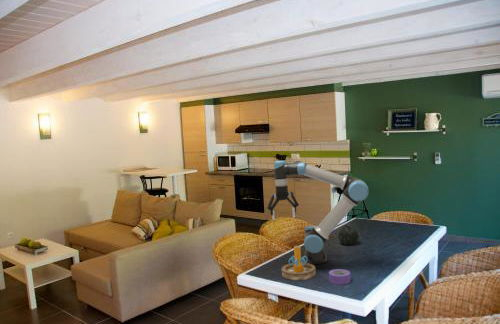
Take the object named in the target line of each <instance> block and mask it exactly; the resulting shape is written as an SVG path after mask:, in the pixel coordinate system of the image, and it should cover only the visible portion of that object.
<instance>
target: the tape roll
mask: <svg viewBox="0 0 500 324" xmlns="http://www.w3.org/2000/svg"><path fill="white" fill-rule="evenodd" d="M328 281H329V283H330V284H333V285H338V286H341V285H342V286H343V285H347V284H348V285H349V284H350V283H351V272H350V271H349V270H348V269H341V268H339V269H338V268H336V269H332V270H330V271H329V272H328Z"/></svg>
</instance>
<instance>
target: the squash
mask: <svg viewBox="0 0 500 324" xmlns="http://www.w3.org/2000/svg"><path fill="white" fill-rule="evenodd" d="M337 236H338V240H339V243H341V244H342V245H346V246H349V245H350V246H352V245H355V244H357V242H358V240H359V237H360V236H359V233H358V231H357V230H356V229H355V228H354V227H352V226H350V225H347V224H345V225H343V226H342V227H341V229H339V232H338V235H337Z"/></svg>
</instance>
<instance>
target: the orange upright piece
mask: <svg viewBox="0 0 500 324" xmlns="http://www.w3.org/2000/svg"><path fill="white" fill-rule="evenodd" d="M293 254H294V255H292V256H290V258H289V259H288V264H290V265H293V267H294V272H297V273H300V272H303V271H304V267H303V265H305V264H306V262H307V261H308V258H307V257H306V256H304V255H303V256H302V249H301V245H295V246H293ZM304 257H305V258H306V261H305V260H304ZM291 263H293V264H291ZM303 263H304V264H303Z"/></svg>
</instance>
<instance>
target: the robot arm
mask: <svg viewBox="0 0 500 324" xmlns="http://www.w3.org/2000/svg"><path fill="white" fill-rule="evenodd" d="M273 171H274V182H275V184H274V185H275V193H271V195H270V199H269V202H268V205H267V207H266V209H267V210H268V211H270V212H269V213H270V216H271V219H272V221H276V219H275V218H276V216H275V210H274V209H275V207H276V206H277V204H278V203H279V202H280V201H286V200H287V202H288V203H289V204H290V205H291V206H292V207H291V211H292V213H291V214H292V218H293V219H295V218H296V212H297V207H299V203H298V201H297V199H296V197H295V196H294V192H292V191H289V188H288V177H289V176H302V175H303V176H305V177H309V178H311V179H314V180H317V181H320V182H323V183H326V184H327V185H332V186H334V187H338V188H340V189H341V191H343V192H342V194H341V195H342V197H341V198H340V199H339V200H338V201H337V202H336V204H335V205H334V206H333V208H332V209H331V210H330V211H329V212H328V214H327V215H326V216H325V217H324V218H323V219H322V220H321V222H320V223H319V224H318V225H307V226H305V227H304V239H303V245H304V248H305V251H304V254H303V256H306V257H307V258H308V261H307V262H306V263H309V264H313V265H320V264H324V263H326V262H328V256H327V254H326V251H325V249H324V245H325V244H326V243H327V242H328V241H329V239H330V238H329V236H330V235H331V233H332V232H333V231H334V230H335V229H336V227H337V226H338V225H340V223H341V221H343V219H344V218H345V217H346V216H347V214H349V212H350V211H351V210H352V209H353V208H354V207H356V206H359V205H360V203H361V202H362V201H364V200H366V199H367V197H368V196H369V192H370V191H369V186H368V184H367V183H366V182H365V181H364V180H362V179H361V178H358V177H353V176H349V175H345V176H344V175H341V174H338V173H335V172H332V171H330V170H326V169H322V168H320V167H316V166H314V165H311V164H307V163H305V162H302V161H300V160H295V161H293V162H292V163H287V162H286V160H276V161H274V163H273ZM289 196H290V197H291V199H290V198H289ZM303 259H304V260H305V261H306V258H305V257H304V258H303ZM304 260H303V261H304Z"/></svg>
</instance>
